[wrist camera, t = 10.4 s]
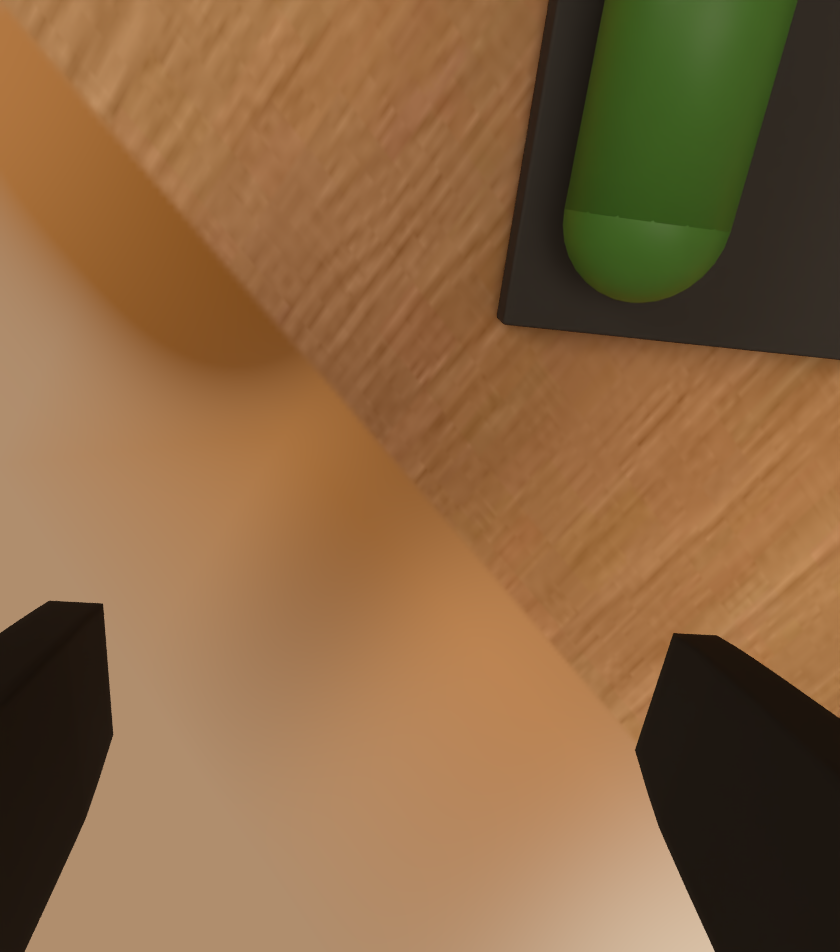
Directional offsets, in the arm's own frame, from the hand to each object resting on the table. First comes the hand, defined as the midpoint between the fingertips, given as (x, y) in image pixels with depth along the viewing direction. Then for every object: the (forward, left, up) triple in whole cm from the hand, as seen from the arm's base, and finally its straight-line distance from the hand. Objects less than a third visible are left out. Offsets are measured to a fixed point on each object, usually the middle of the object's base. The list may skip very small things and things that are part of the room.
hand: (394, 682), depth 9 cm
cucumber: (+5, +9, -7) cm, 12 cm away
